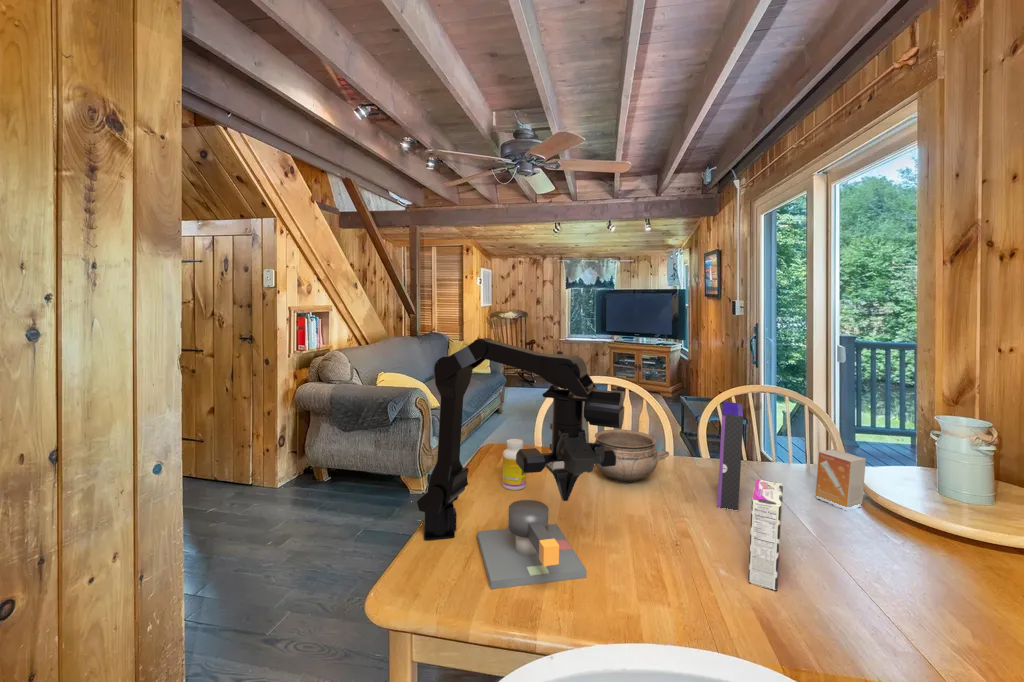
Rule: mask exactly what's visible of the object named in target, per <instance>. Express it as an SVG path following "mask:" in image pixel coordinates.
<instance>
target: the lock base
mask: <svg viewBox="0 0 1024 682" xmlns="http://www.w3.org/2000/svg"><path fill="white" fill-rule="evenodd" d="M547 532H548V533H549V534H550V536H551V537H552V539H555V540H556V542H557V543H558V544H559V564H557V565H550V566H543V565H542V563H541V561H540V560H539V555H538V553H537V552H536V550H535V548H534V547H533V545H532V543H531V542H530V540H529V538H524V537H519V536H516V535H514V534H512V533H511V532H510V531H509V529H508V527H507V528H501V529H499V528H498V529H491V530H490V529H489V530H488V529H487V530H477V531H476V534H477V535H476V539H477V542H478V546H479V551H480V554H481V556H482V560H483V561H482V562H483V565H484V568H485V572H486V575H487V579H488V583H489V586H490V589H491V590H495V589H503V588H512V587H521V586H529V585H535V584H544V583H546V584H547V583H554V582H562V581H563V582H564V581H570V580H578V579H586V578H587V571H588V570H587V568H586V567H585V565H584V563H583V562H582V560H581V559H580V557H579V556H578V554H577V552H576V551H575V550H574V548H573V547H572V546H571V544H570V542H569V541H568V539H567V538H566V536H565V534H564V533H563V531H562V529H561V528H560V526H559V525H558V524H557V523H553V524H550V523H549V524H548V531H547Z"/></svg>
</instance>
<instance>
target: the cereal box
mask: <svg viewBox="0 0 1024 682" xmlns="http://www.w3.org/2000/svg"><path fill="white" fill-rule="evenodd" d="M720 427H721V429H720V445H719V446H720V448H719V463H718V464H719V466H718V483H717V484H718V486H717V504H716V505H717V506H716V508H717V507H720V508H719V509H722V508H726V509H725V510H727V508H728V509H733V510H738V511H739V503H740V487H741V485H740V483H741V468H742V467H741V466H742V465H741V464H742V449H743V432H744V431H743V430H744V429H743V428H744V412H743V404H742V403H738V402H729V401H728V402H727V401H723V402H722V411H721V426H720Z"/></svg>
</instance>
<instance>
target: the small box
mask: <svg viewBox="0 0 1024 682" xmlns="http://www.w3.org/2000/svg"><path fill="white" fill-rule="evenodd" d="M866 461H867V458H865V457H861V456H857V455H854V454H851V453H848V452H844V451H840V450H837V449H827V450H821V451H819V452H818V462H817V473H816V474H817V475H816V488H815V497H816V496H819V497H822V498H824V499H827V500H829V501H832V502H834V503H837V504H839V505H842V506H845V507H852V506H854V505H858V504H862V505H863V501H864V500H863V499H864V498H863V497H864V487H865V485H864V484H865V473H866V463H867V462H866Z"/></svg>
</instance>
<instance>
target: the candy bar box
mask: <svg viewBox="0 0 1024 682" xmlns="http://www.w3.org/2000/svg"><path fill="white" fill-rule="evenodd" d="M783 496H784V484H783V483H781V482H776V481H771V480H765V479H761V478H758V479H757V478H756V479H755V484H754V488H753V492H752V497H751V513H750V534H749V535H750V536H749V555H748V556H749V557H748V558H749V559H748V578H747V579H748V580H747V583H749V582H751V583H755V584H758V585H760V586H764V587H767V588H770V589H773V590H772V591H774V590H777V591H778V586H779V585H778V584H779V573H780V571H779V570H780V558H781V555H780V553H781V538H782V537H781V536H782V517H783V499H784V497H783ZM760 586H759V587H760ZM767 588H766V589H767ZM770 589H769V590H770Z"/></svg>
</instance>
